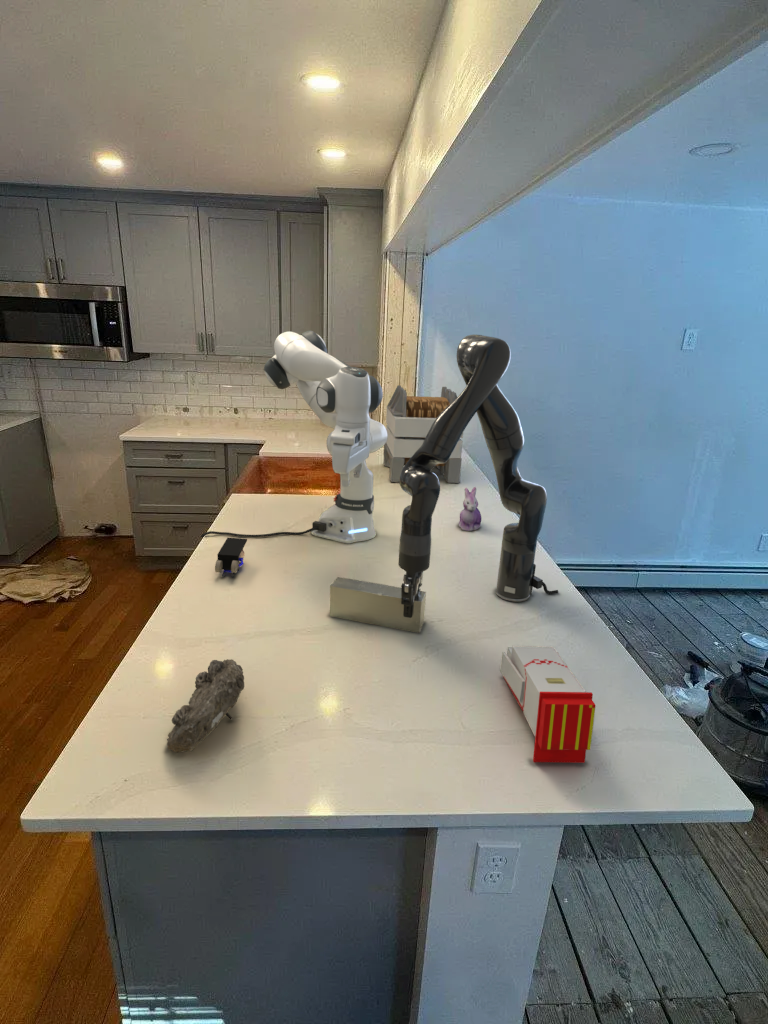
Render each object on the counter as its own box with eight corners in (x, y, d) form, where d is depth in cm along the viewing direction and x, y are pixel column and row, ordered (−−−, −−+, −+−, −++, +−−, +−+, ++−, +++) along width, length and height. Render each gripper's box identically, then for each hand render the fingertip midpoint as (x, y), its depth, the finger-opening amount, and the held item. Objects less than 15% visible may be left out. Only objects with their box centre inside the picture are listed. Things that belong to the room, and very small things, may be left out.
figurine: (467, 533, 203) (471, 493, 198) (451, 523, 211) (454, 485, 206) (488, 529, 207) (492, 490, 202) (471, 520, 215) (475, 482, 210)
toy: (549, 628, 125) (605, 700, 96) (544, 683, 128) (596, 770, 99) (495, 627, 125) (534, 699, 95) (491, 683, 128) (527, 769, 98)
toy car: (238, 584, 162) (249, 557, 175) (236, 562, 158) (247, 536, 172) (215, 584, 161) (227, 556, 175) (212, 561, 158) (225, 535, 171)
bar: (329, 616, 145) (330, 585, 142) (337, 606, 150) (337, 576, 147) (419, 633, 139) (421, 601, 136) (423, 622, 144) (426, 591, 141)
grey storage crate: (382, 463, 289) (386, 382, 275) (445, 464, 293) (451, 384, 279) (390, 482, 257) (394, 392, 243) (460, 483, 261) (468, 394, 247)
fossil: (192, 660, 117) (244, 628, 112) (224, 691, 120) (276, 661, 115) (142, 746, 98) (202, 712, 93) (182, 779, 101) (242, 748, 96)
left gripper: (354, 423, 159) (353, 470, 164) (327, 437, 141) (327, 490, 145) (375, 425, 158) (374, 473, 162) (351, 440, 139) (350, 493, 144)
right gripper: (423, 562, 128) (419, 628, 134) (436, 539, 141) (431, 600, 147) (391, 557, 130) (388, 622, 136) (406, 535, 143) (403, 595, 149)
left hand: (351, 481), depth 154 cm, fingers open, 8 cm apart
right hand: (410, 610), depth 141 cm, fingers closed on bar, 5 cm apart
